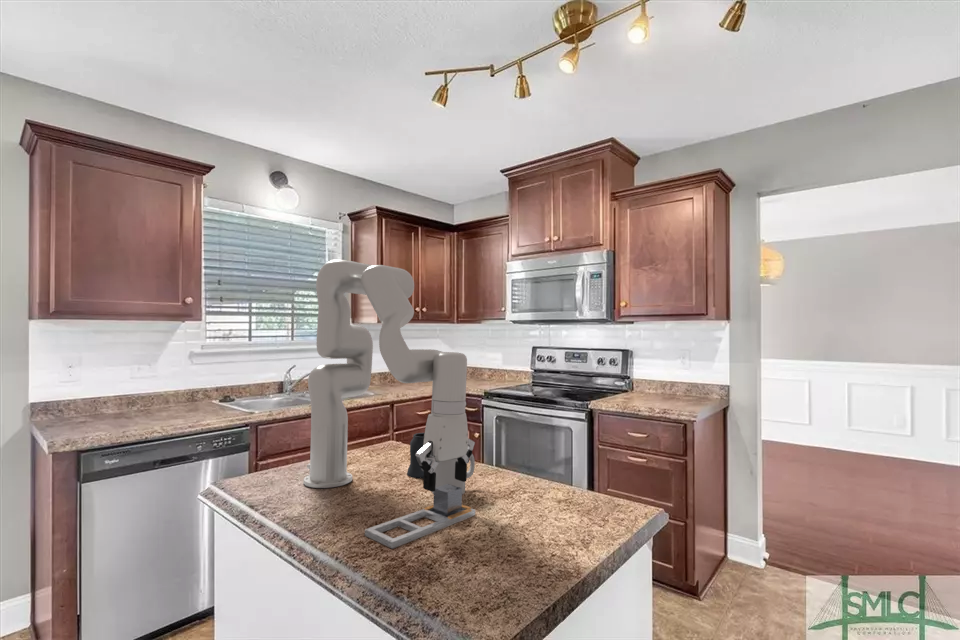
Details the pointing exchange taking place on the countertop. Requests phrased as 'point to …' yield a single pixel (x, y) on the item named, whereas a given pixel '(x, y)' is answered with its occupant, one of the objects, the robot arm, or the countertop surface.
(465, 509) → the grey flat frame
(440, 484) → the mug
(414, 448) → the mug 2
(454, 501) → the grey rectangular block
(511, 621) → the countertop surface
